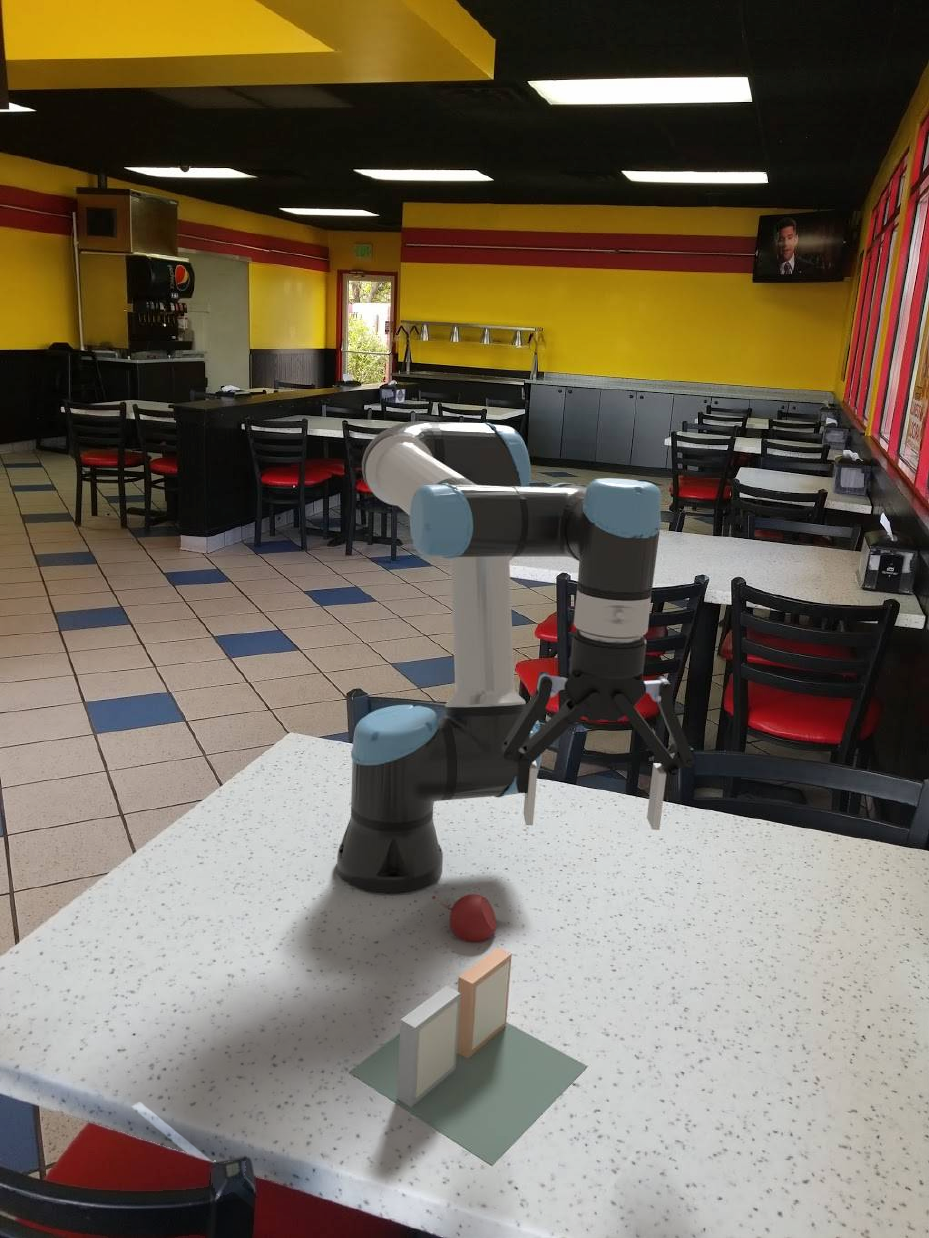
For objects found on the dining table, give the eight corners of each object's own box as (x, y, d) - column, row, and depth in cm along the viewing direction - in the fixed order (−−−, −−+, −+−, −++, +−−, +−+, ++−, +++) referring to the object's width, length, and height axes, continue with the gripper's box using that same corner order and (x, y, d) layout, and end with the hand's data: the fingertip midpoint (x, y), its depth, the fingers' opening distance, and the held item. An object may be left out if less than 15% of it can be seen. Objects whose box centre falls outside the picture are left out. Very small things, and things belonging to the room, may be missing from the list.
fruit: (462, 934, 127) (435, 883, 125) (501, 919, 125) (473, 868, 124) (456, 961, 121) (427, 908, 119) (497, 946, 119) (468, 893, 118)
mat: (348, 1076, 97) (348, 1071, 97) (452, 997, 110) (452, 992, 110) (491, 1170, 87) (491, 1165, 87) (587, 1070, 100) (587, 1066, 100)
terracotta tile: (453, 1050, 101) (458, 976, 99) (492, 1018, 106) (498, 947, 104) (468, 1059, 100) (473, 984, 98) (507, 1026, 105) (512, 954, 103)
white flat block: (397, 1098, 94) (400, 1019, 92) (441, 1060, 99) (446, 985, 97) (412, 1107, 93) (416, 1028, 91) (456, 1069, 98) (461, 993, 96)
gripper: (490, 637, 94) (477, 834, 99) (741, 649, 95) (714, 842, 100) (486, 617, 101) (473, 801, 106) (719, 628, 102) (695, 810, 108)
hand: (590, 822), depth 103 cm, fingers open, 13 cm apart
